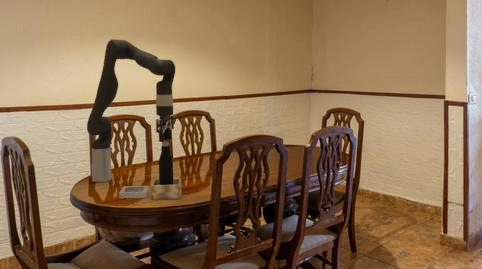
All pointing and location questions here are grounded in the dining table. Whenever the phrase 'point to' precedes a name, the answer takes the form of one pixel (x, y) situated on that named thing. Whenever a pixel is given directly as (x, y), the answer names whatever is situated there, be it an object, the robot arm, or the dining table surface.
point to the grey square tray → (134, 192)
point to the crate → (166, 190)
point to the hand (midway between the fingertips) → (165, 140)
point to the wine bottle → (165, 162)
